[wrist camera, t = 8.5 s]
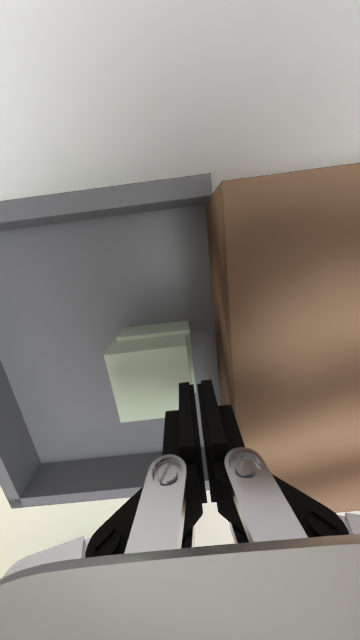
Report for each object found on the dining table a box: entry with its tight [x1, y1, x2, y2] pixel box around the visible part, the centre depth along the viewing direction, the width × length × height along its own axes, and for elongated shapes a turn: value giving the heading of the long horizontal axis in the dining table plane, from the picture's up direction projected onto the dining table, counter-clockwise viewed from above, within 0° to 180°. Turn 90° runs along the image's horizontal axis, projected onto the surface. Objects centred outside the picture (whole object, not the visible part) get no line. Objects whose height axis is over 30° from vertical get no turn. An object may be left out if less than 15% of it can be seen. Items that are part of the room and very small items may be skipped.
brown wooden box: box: [205, 163, 360, 513], centre depth 16 cm, size 20×16×7 cm
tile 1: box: [104, 333, 192, 423], centre depth 16 cm, size 5×5×2 cm
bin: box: [0, 173, 221, 508], centre depth 18 cm, size 22×18×4 cm
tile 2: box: [116, 320, 196, 393], centre depth 18 cm, size 5×5×2 cm
